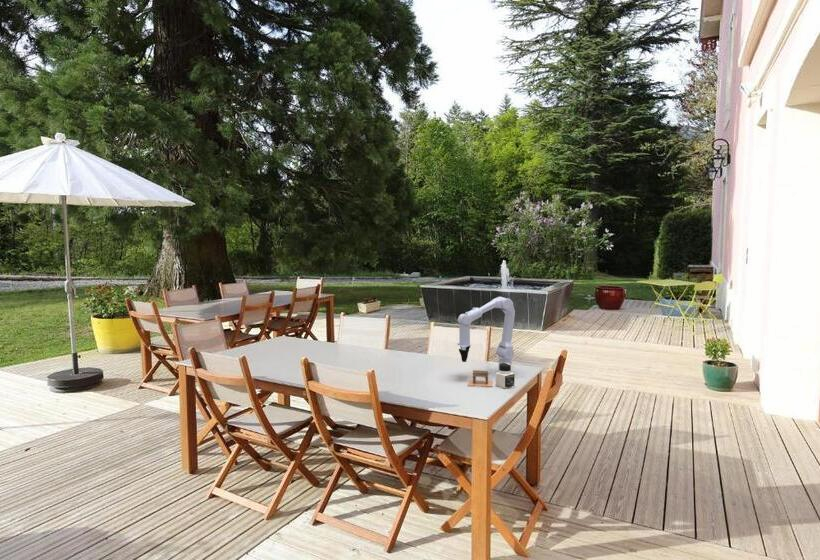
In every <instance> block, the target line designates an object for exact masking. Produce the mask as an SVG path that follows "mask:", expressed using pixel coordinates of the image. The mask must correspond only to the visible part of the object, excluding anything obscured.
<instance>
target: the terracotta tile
mask: <svg viewBox="0 0 820 560" xmlns="http://www.w3.org/2000/svg"><path fill="white" fill-rule="evenodd" d="M467 381H468V382H467V387H474V386H481V387H482V388H493V383H494V380H493V379H488V384H486V379H476V382H475V384H473V378H472V379H468V380H467ZM481 387H480V388H481Z"/></svg>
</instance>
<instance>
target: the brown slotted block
mask: <svg viewBox="0 0 820 560" xmlns="http://www.w3.org/2000/svg"><path fill="white" fill-rule="evenodd" d="M477 377H480V378H483V377H484V378H485V380H486V384H488V380H489V370H478V369H473V370H472V379H473V384H475V382H476V380H477Z"/></svg>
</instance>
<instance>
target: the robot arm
mask: <svg viewBox="0 0 820 560" xmlns="http://www.w3.org/2000/svg"><path fill="white" fill-rule="evenodd" d="M492 309H500V310H501V311H502V312H503V313H504V320H503V327H502V334H501V340H500V342H499V343H498V347H497V348H496V354H497V356H498V366H499V365H500V364H501V363H508V364H510V365H511V366H512V360H513V358H514V346H513V343H512V339H513V332H514V331H513V330H514V326H515V325H514V324H515V323H514V322H515V318H516V317H515V316H516V310H515V307H514V302H513V301H512V300H511V298H509V297H507V298H506V297H503V296H497V297H495V298H492V300H491V301H489V302H487V303H486V304H484V305H482V306H480V307H472V309H471V310H469V311H466V312H465V313H461V314H460V315H459V316H458V318H457V319H456V320H457V322H458V324H459V326H458V327H459V328H458V329H459V331H458V332H459V339H458V340H459V342H458V343H456V344H457V346H459V347H460V348H458V351H459V354H460V358H461V362H463V363H467V360H468V356H469V351H470V348H471V339H470V338H471V334H470V333H471V324H472V322H474V321H475V320H476V321H477V320H478V319H480V318H481V317H482V316H483V314H484V313H486V312H488V311H491V310H492ZM497 372H499V369H498V370H497ZM511 372H512V373H513V370H511Z"/></svg>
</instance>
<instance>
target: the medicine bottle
mask: <svg viewBox="0 0 820 560" xmlns="http://www.w3.org/2000/svg"><path fill="white" fill-rule="evenodd" d="M498 370H499V372H498V371H497V372H495V386H496V387H499V388H501V387H502V388H501V389H504V388H505V389H510V388H513V387H512V386H514V387H515V373H514V372H513V371H512V364H511V365H510V364H508V363H501V364H500V365H499V364H498ZM511 371H512V372H511ZM509 387H510V388H509ZM505 389H504V390H505Z"/></svg>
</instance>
